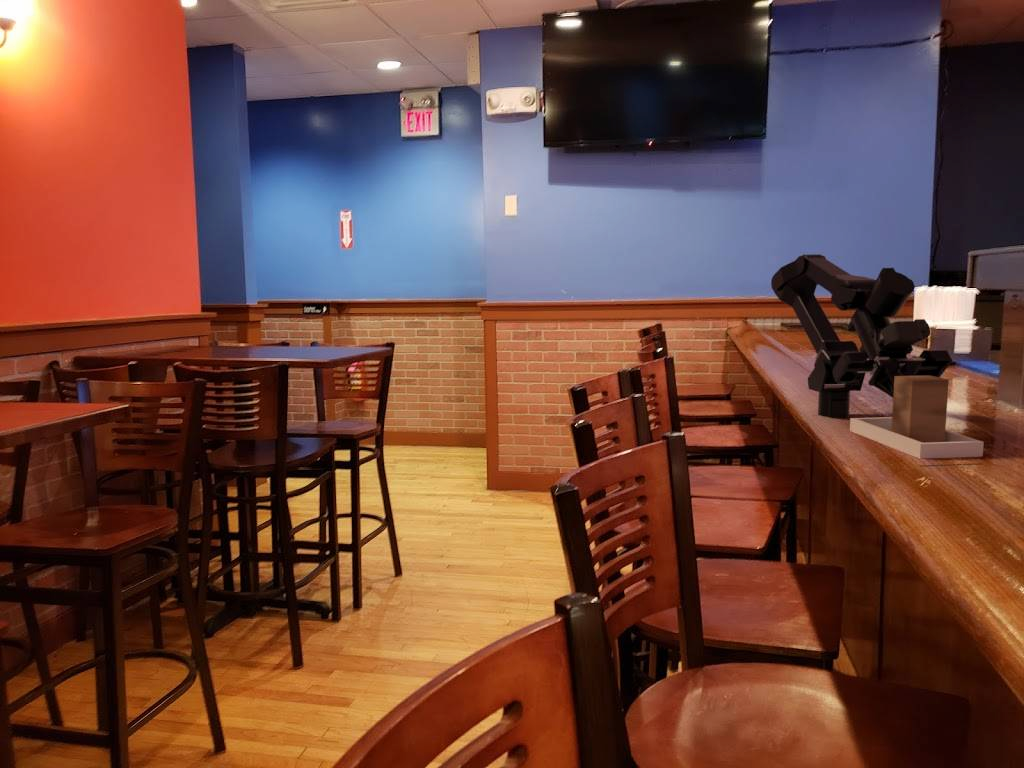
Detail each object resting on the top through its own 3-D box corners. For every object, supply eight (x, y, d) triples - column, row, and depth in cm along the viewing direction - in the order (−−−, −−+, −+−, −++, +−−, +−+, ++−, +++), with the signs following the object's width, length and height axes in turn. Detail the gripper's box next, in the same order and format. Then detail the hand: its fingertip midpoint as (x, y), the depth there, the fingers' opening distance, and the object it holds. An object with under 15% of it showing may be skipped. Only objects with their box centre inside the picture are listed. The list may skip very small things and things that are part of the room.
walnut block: (890, 441, 129) (894, 376, 128) (925, 440, 130) (929, 375, 128) (908, 448, 124) (912, 380, 123) (944, 447, 125) (948, 379, 123)
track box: (849, 437, 139) (850, 418, 138) (903, 435, 140) (904, 416, 139) (919, 466, 118) (920, 444, 118) (982, 464, 119) (983, 441, 118)
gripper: (843, 304, 131) (875, 377, 122) (949, 302, 133) (989, 374, 123) (819, 346, 140) (848, 418, 131) (919, 344, 141) (954, 415, 132)
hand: (909, 406), depth 129 cm, fingers closed, pressing on walnut block
